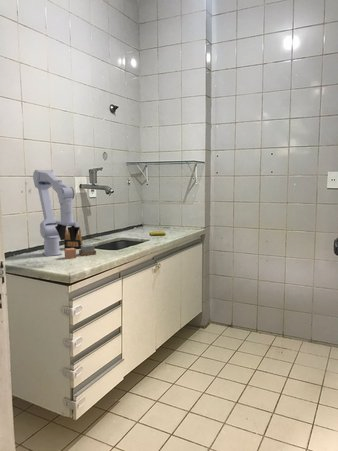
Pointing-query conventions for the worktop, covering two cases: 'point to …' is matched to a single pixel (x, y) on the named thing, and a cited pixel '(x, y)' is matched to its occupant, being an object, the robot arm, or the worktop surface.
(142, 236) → the worktop surface
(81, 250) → the walnut slab
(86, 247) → the grey slab
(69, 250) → the terracotta cube
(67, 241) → the ammunition clip
